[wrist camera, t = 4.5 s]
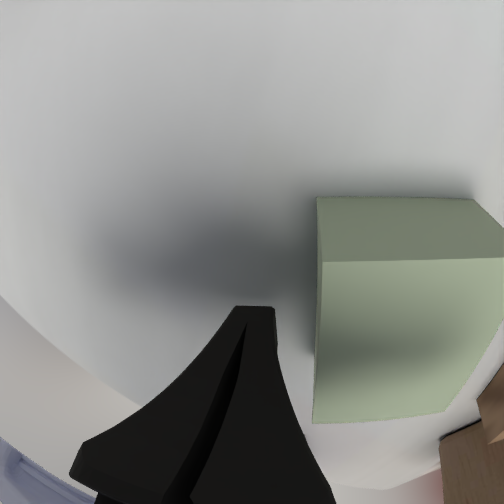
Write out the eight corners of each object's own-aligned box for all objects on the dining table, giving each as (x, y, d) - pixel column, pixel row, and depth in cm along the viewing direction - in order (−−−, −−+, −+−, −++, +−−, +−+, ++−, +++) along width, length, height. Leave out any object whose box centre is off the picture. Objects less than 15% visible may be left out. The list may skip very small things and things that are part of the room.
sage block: (427, 345, 13) (444, 411, 9) (314, 351, 14) (311, 423, 10) (470, 197, 9) (529, 256, 5) (316, 194, 10) (322, 261, 6)
